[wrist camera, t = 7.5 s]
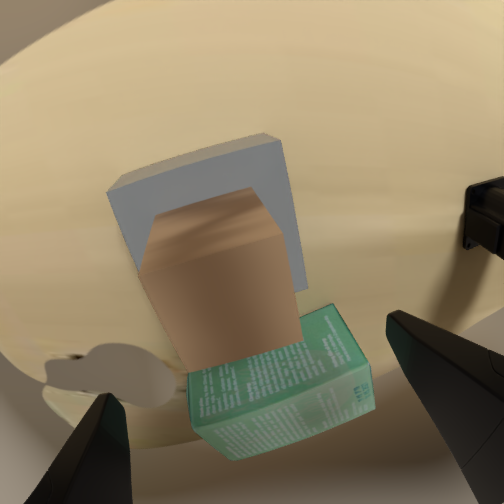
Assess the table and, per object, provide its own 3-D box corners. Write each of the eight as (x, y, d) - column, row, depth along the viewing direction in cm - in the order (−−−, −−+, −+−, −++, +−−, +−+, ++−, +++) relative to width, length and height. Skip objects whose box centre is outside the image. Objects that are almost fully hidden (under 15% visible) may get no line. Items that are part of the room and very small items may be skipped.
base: (263, 132, 18) (280, 140, 15) (289, 258, 23) (308, 288, 19) (122, 174, 18) (106, 192, 14) (169, 293, 22) (166, 329, 19)
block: (250, 186, 16) (282, 233, 10) (270, 269, 18) (303, 340, 13) (155, 215, 15) (138, 276, 10) (186, 294, 18) (188, 372, 12)
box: (183, 361, 25) (187, 434, 19) (331, 298, 25) (373, 361, 19) (220, 403, 29) (231, 467, 22) (346, 351, 29) (379, 408, 22)
